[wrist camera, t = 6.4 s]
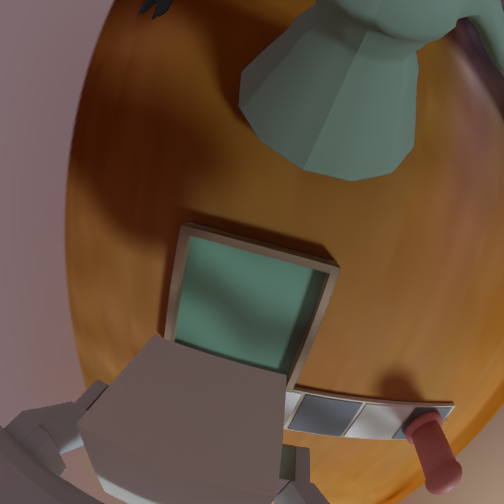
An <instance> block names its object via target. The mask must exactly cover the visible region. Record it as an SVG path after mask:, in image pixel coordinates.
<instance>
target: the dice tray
mask: <svg viewBox="0 0 504 504" xmlns="http://www.w3.org/2000/svg"><path fill="white" fill-rule="evenodd" d="M339 271H340V266H339V265H338V263H337V262H336V261H332V260H329V259H325V258H322V257H318V256H314V255H311V254H307V253H304V252H300V251H296V250H293V249H289V248H285V247H282V246H278V245H274V244H271V243H267V242H263V241H259V240H256V239H252V238H248V237H244V236H241V235H237V234H233V233H229V232H226V231H222V230H218V229H214V228H210V227H207V226H203V225H199V224H195V223H191V222H187V223H184V224H182V225H180V231H179V236H178V242H177V247H176V253H175V259H174V266H173V272H172V279H171V286H170V293H169V300H168V308H167V316H166V325H165V334H164V338H165V339H167V340H170V341H173V342H176V343H178V344H181V345H184V346H187V347H190V348H193V349H196V350H199V351H202V352H205V353H208V354H211V355H214V356H217V357H221V358H224V359H227V360H231V361H234V362H238V363H241V364H245V365H248V366H252V367H256V368H260V369H264V370H268V371H272V372H276V373H280V374H284V375H287V380H286V392H290V393H291V392H292V390H293V388H294V385H295V383H296V381H297V379H298V377H299V374H300V372H301V370H302V368H303V365H304V363H305V361H306V358H307V356H308V353H309V351H310V349H311V346H312V344H313V341H314V339H315V336H316V334H317V331H318V329H319V326H320V324H321V321H322V319H323V316H324V313H325V311H326V308H327V305H328V303H329V300H330V297H331V294H332V291H333V289H334V286H335V283H336V280H337V277H338V274H339Z"/></svg>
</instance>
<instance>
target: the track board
mask: <svg viewBox="0 0 504 504" xmlns="http://www.w3.org/2000/svg"><path fill="white" fill-rule="evenodd" d="M454 407H455V405H454V403H422V402H404V401H391V400H380V399H371V398H362V397H355V396H347V395H341V394H334V393H328V392H323V391H317V390H312V389H306V388H301V387H297V386H294V388H293V390H292V392H291V393H290V392H286V397H285V413H284V427H283V429H287V430H293V431H299V432H305V433H312V434H319V435H327V436H336V437H347V438H361V439H388V440H402V439H407V438H406V435H405V428H406V426H407V425H408V424H409V423H410V422H411V421H412V420H413V419H414V418H415V417H417V416H418V415H420V414H422V413H424V412H427V411H432V410H435V411H438V412H439V413H440V415H441V417H442V419H443V422H444V420H445V419H446V418H447V416H448V415H449V414H450V412H451V411H452V410H453V408H454Z"/></svg>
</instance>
